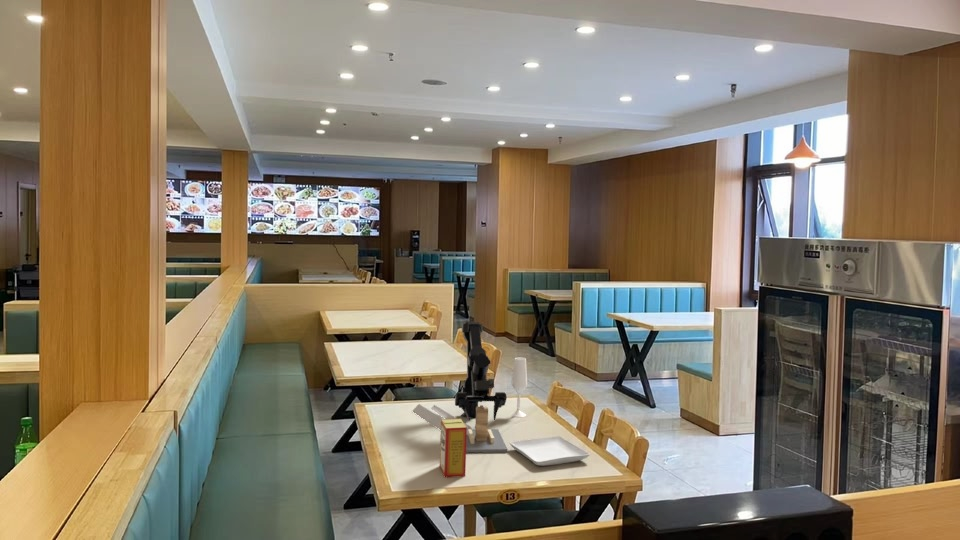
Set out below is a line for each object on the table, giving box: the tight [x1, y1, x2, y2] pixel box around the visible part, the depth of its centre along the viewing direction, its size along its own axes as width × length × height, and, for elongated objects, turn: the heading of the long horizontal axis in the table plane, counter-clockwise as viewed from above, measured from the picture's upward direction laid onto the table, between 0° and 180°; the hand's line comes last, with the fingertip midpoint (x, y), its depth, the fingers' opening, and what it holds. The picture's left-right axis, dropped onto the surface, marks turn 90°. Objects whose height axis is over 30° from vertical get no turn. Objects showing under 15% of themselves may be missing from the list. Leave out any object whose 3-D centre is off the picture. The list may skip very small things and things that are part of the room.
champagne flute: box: [509, 356, 528, 418], centre depth 270 cm, size 7×7×24 cm
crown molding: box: [412, 403, 473, 431], centre depth 260 cm, size 31×12×4 cm, turn 30°
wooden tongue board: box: [474, 404, 489, 441], centre depth 235 cm, size 4×4×12 cm
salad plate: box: [509, 435, 591, 467], centre depth 224 cm, size 21×21×3 cm
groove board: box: [466, 428, 508, 454], centre depth 235 cm, size 22×16×3 cm
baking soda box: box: [439, 418, 467, 478], centre depth 206 cm, size 10×6×16 cm
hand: (482, 419), depth 233 cm, fingers open, 9 cm apart
